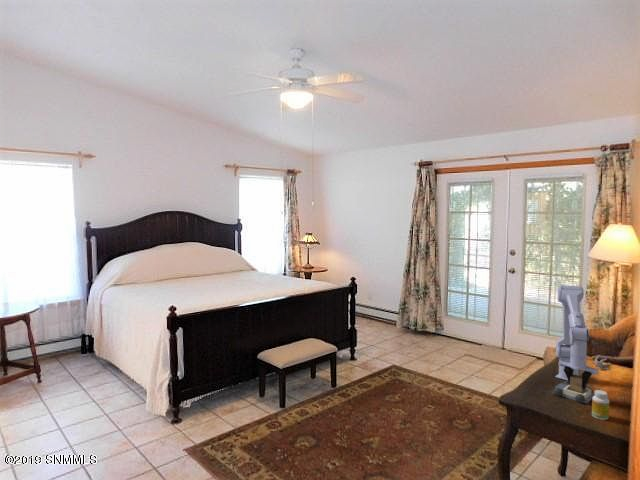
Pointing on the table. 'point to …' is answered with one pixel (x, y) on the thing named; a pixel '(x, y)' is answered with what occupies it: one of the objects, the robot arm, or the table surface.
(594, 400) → the supplement bottle
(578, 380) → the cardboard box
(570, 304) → the robot arm
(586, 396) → the toy truck
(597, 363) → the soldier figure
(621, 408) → the table surface
